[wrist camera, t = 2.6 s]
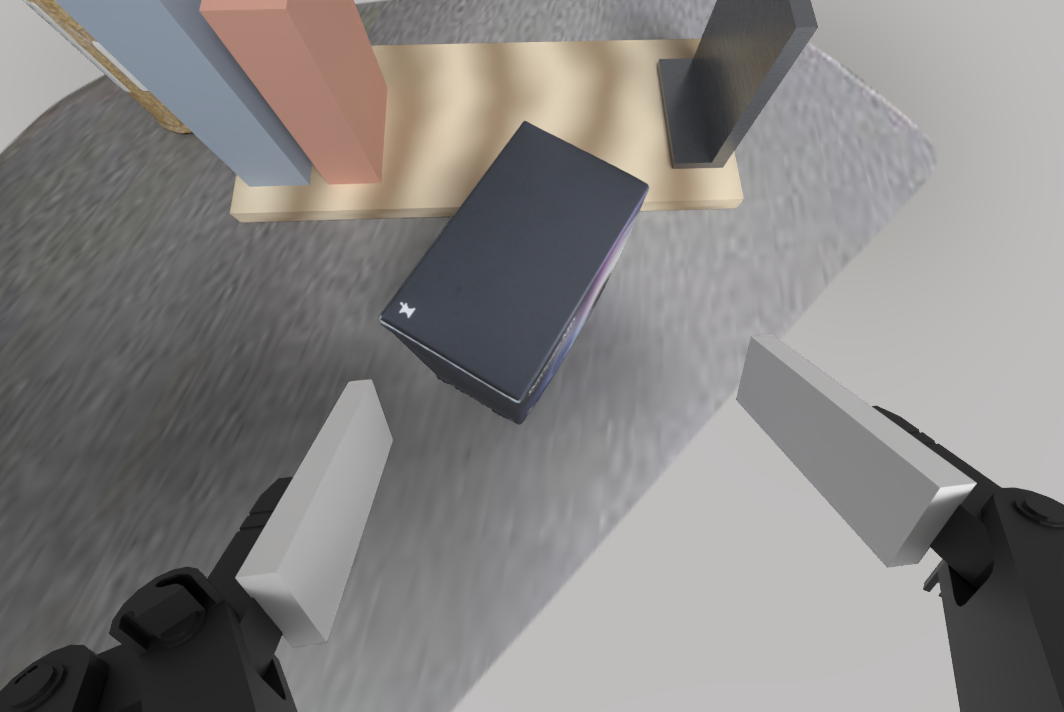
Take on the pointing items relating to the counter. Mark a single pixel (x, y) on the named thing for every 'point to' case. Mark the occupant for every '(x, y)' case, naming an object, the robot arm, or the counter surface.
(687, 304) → the counter surface
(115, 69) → the sprinkles bottle
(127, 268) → the counter surface
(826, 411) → the robot arm
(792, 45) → the bookend
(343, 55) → the book
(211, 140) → the book
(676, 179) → the shelf board
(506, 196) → the small box
